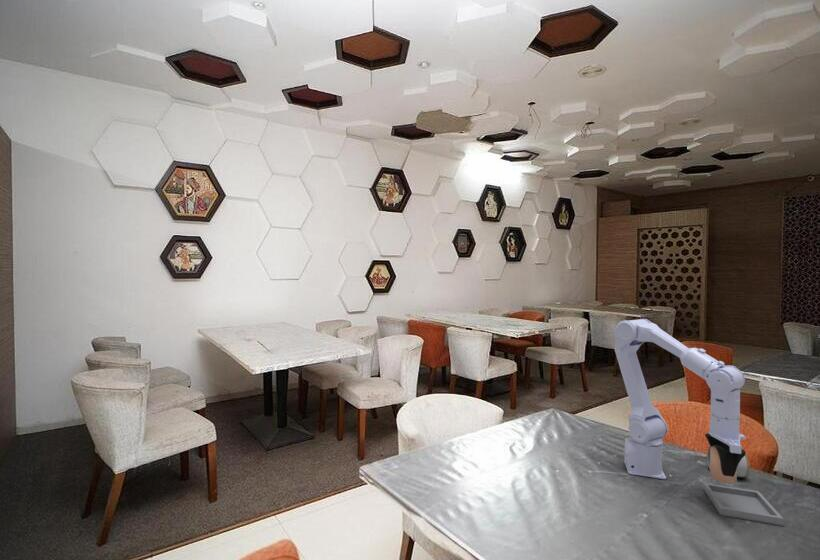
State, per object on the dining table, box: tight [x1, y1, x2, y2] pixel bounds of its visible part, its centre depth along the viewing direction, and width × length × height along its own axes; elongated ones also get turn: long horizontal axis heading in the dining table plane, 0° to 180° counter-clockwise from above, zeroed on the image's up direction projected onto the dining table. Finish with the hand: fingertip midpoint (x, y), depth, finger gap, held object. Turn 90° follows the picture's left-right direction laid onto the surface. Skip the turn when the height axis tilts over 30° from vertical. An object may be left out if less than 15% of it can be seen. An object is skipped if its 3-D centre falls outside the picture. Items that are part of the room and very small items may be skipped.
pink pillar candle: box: [709, 446, 738, 484], centre depth 100 cm, size 5×5×7 cm
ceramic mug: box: [707, 445, 750, 478], centre depth 117 cm, size 11×8×8 cm
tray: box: [702, 482, 785, 527], centre depth 100 cm, size 12×12×2 cm
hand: (723, 469), depth 100 cm, fingers closed on pink pillar candle, 5 cm apart
